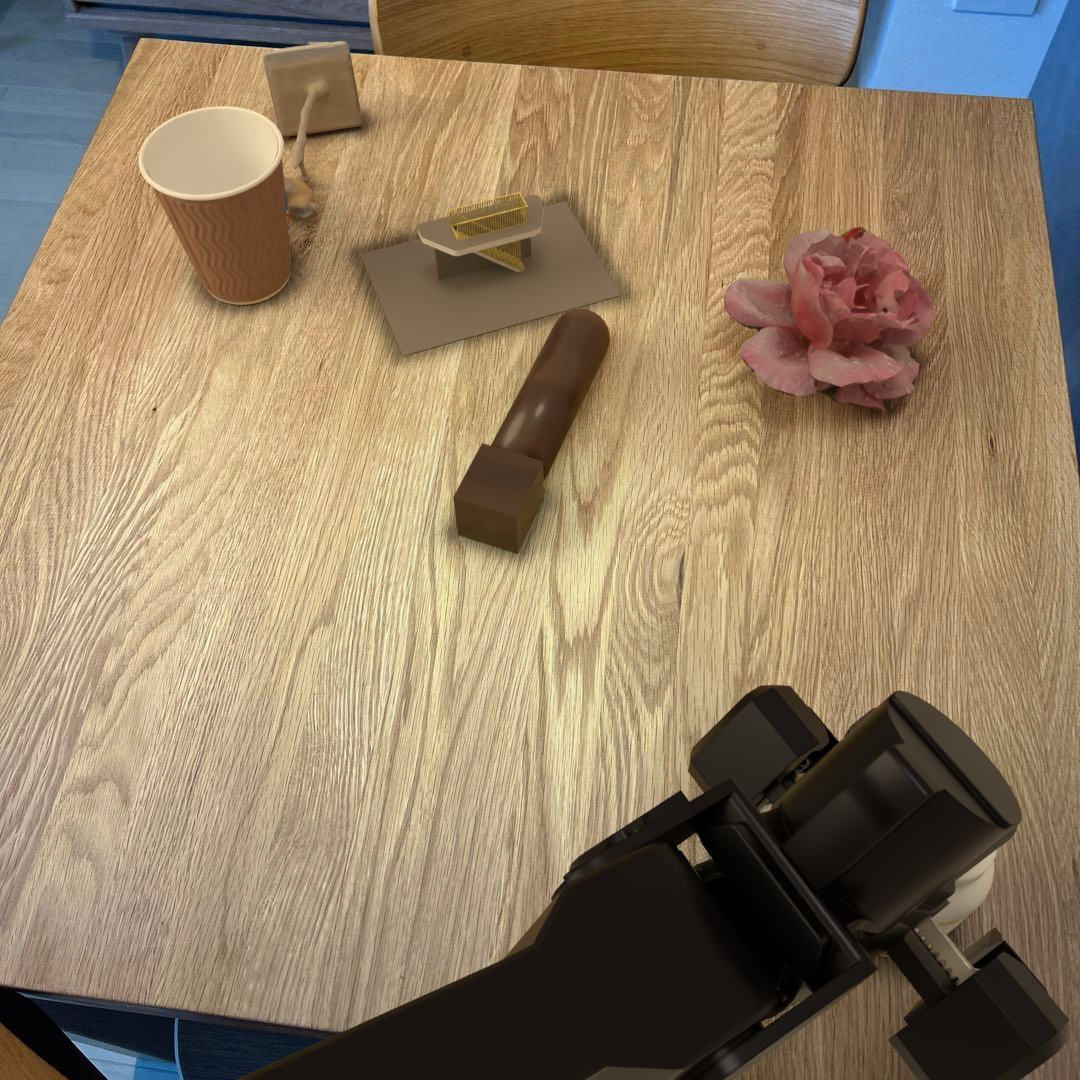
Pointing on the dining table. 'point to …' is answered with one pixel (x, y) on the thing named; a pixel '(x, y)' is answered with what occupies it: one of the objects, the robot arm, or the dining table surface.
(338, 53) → the decorative sculpture
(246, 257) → the coffee cup
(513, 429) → the walnut leg
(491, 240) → the platform
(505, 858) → the dining table surface
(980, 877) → the pill bottle
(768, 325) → the flower
